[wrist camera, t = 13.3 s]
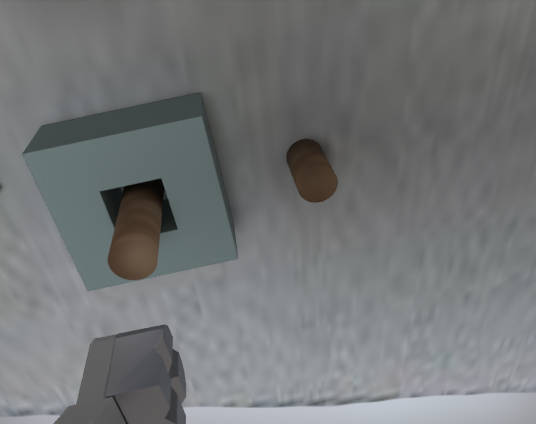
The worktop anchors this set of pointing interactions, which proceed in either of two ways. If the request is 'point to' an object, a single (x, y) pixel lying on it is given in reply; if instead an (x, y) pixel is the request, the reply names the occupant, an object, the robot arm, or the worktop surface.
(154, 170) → the hole block
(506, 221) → the worktop surface
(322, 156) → the short peg
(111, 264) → the long peg
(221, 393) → the worktop surface
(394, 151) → the worktop surface
